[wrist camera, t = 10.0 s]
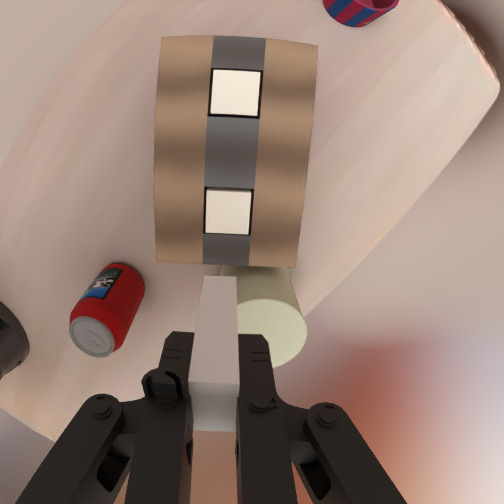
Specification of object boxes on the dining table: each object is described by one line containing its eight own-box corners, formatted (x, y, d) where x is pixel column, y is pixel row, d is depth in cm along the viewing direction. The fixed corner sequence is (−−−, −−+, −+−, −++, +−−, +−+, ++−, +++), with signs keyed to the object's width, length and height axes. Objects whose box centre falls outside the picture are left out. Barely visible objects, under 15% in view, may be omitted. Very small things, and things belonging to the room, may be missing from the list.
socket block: (284, 241, 37) (294, 267, 31) (169, 236, 36) (156, 261, 30) (302, 59, 29) (318, 45, 22) (175, 52, 28) (161, 37, 21)
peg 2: (211, 211, 35) (205, 232, 29) (212, 177, 33) (206, 190, 27) (245, 213, 35) (248, 234, 29) (248, 179, 34) (251, 192, 27)
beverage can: (111, 251, 37) (72, 300, 26) (154, 278, 39) (129, 336, 28) (94, 287, 39) (58, 340, 28) (133, 312, 41) (108, 371, 30)
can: (203, 282, 39) (193, 343, 28) (253, 233, 37) (261, 282, 26) (254, 321, 42) (261, 385, 31) (304, 278, 40) (327, 336, 29)
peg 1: (215, 115, 31) (210, 113, 24) (218, 80, 29) (213, 69, 23) (252, 117, 31) (257, 115, 24) (255, 82, 29) (260, 72, 23)
